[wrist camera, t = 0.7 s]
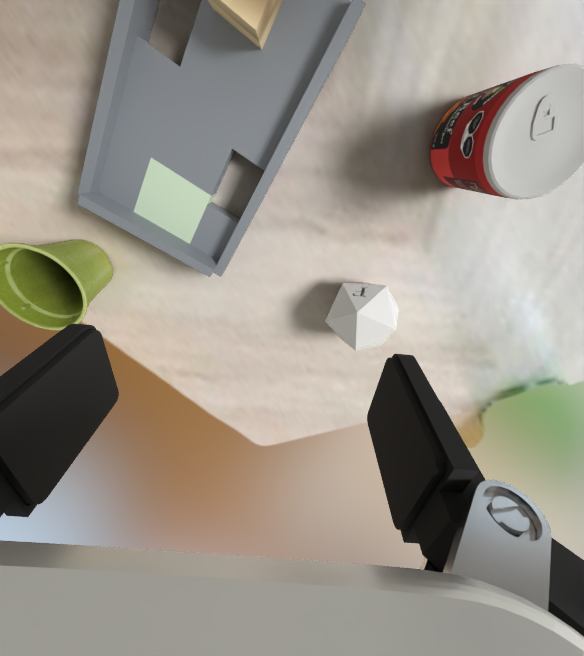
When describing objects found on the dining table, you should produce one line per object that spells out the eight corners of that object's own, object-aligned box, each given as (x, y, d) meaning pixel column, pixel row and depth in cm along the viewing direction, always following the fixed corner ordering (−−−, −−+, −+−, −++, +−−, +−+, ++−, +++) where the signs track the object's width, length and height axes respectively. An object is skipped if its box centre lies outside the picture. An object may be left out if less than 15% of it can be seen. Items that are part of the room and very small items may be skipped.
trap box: (182, -146, 20) (152, -226, 16) (357, 22, 25) (370, -6, 20) (97, 192, 32) (66, 198, 28) (227, 266, 36) (217, 281, 32)
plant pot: (59, 207, 33) (-10, 222, 25) (138, 255, 36) (97, 282, 28) (41, 270, 37) (-24, 299, 29) (113, 309, 40) (71, 344, 32)
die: (401, 288, 38) (402, 274, 29) (393, 352, 39) (391, 357, 30) (341, 284, 41) (325, 270, 32) (334, 343, 41) (316, 346, 32)
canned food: (492, 73, 26) (601, 28, 17) (514, 155, 30) (616, 155, 20) (414, 131, 29) (472, 120, 19) (442, 201, 32) (504, 220, 23)
